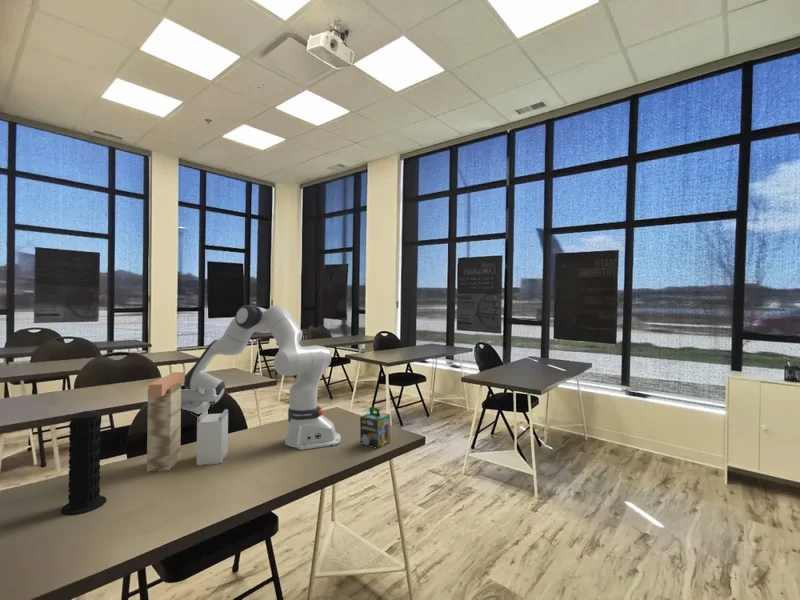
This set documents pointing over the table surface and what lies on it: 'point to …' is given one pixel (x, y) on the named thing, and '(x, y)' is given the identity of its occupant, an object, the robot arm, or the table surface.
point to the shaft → (165, 384)
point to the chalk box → (375, 428)
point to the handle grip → (84, 464)
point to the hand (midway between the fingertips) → (184, 389)
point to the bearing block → (164, 430)
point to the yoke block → (212, 437)
